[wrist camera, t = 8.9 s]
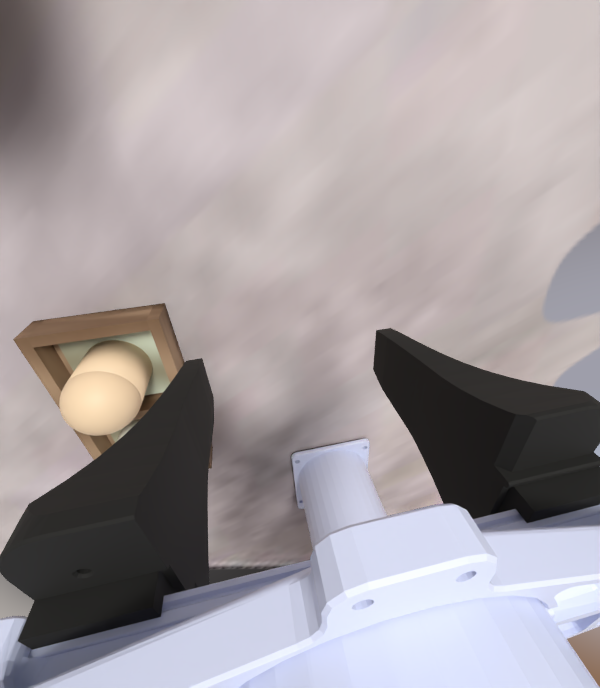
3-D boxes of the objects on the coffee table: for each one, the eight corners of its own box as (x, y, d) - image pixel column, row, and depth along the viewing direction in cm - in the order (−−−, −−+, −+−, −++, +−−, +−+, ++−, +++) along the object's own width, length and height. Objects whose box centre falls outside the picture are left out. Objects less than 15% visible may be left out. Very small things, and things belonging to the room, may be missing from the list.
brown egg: (160, 384, 23) (143, 443, 19) (99, 394, 23) (67, 457, 18) (140, 335, 21) (116, 389, 16) (73, 345, 20) (27, 404, 16)
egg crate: (212, 447, 29) (211, 467, 27) (120, 465, 28) (112, 488, 26) (164, 303, 21) (158, 318, 19) (32, 321, 20) (13, 339, 18)
